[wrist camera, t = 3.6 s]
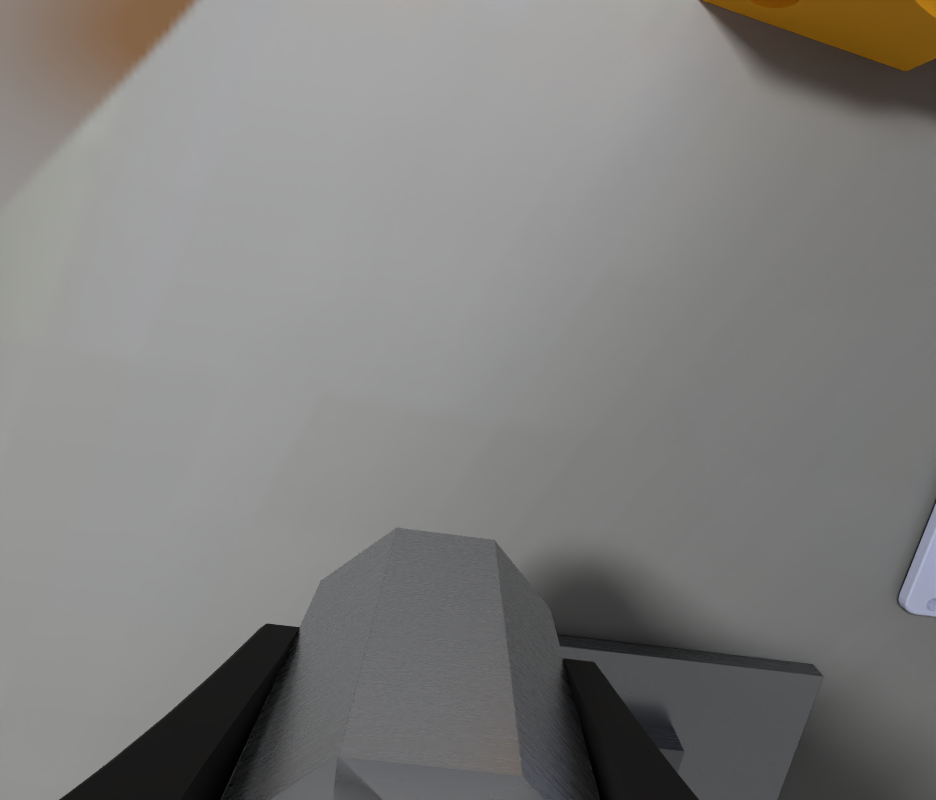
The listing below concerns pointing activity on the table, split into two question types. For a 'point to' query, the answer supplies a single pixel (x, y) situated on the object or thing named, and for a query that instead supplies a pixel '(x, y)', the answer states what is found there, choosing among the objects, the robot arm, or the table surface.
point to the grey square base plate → (711, 711)
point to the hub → (420, 686)
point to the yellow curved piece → (854, 25)
